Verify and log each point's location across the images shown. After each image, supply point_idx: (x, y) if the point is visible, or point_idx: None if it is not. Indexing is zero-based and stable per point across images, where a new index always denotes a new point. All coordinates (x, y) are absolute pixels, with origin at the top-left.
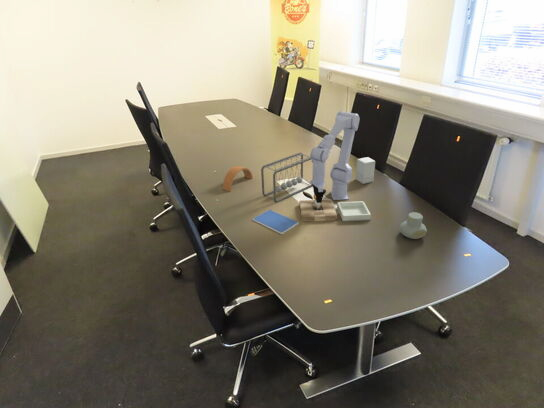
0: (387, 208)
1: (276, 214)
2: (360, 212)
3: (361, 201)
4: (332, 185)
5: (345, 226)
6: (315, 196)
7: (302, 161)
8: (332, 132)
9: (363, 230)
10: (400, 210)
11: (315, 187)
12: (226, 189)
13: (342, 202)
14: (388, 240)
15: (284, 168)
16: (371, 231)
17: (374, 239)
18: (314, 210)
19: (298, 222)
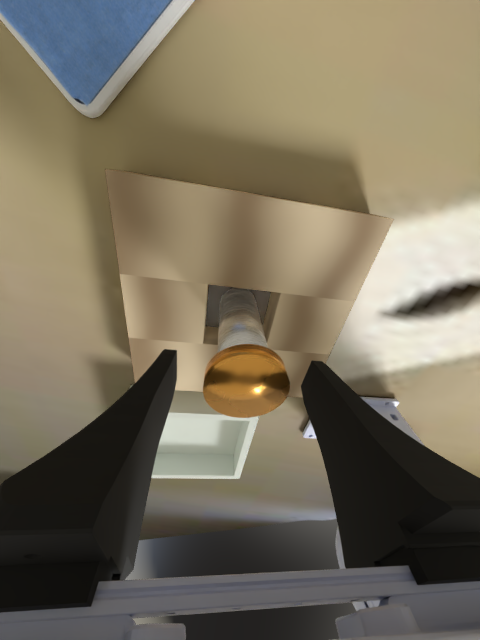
0: (210, 489)
1: None
2: (190, 444)
3: (239, 474)
4: (414, 436)
5: (86, 384)
6: (242, 372)
7: None
8: None
9: (63, 425)
10: (193, 503)
11: (349, 442)
12: None
13: (251, 430)
14: (10, 461)
15: None
16: (60, 441)
17: (2, 437)
18: (206, 293)
19: (85, 112)
